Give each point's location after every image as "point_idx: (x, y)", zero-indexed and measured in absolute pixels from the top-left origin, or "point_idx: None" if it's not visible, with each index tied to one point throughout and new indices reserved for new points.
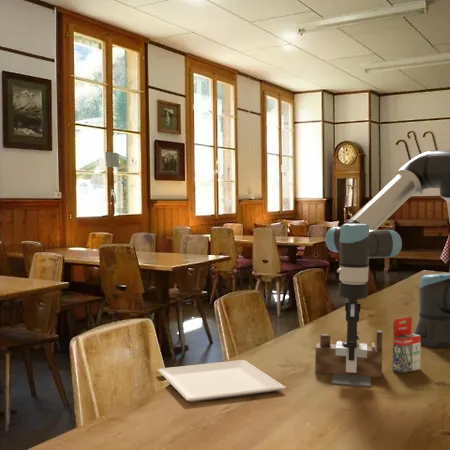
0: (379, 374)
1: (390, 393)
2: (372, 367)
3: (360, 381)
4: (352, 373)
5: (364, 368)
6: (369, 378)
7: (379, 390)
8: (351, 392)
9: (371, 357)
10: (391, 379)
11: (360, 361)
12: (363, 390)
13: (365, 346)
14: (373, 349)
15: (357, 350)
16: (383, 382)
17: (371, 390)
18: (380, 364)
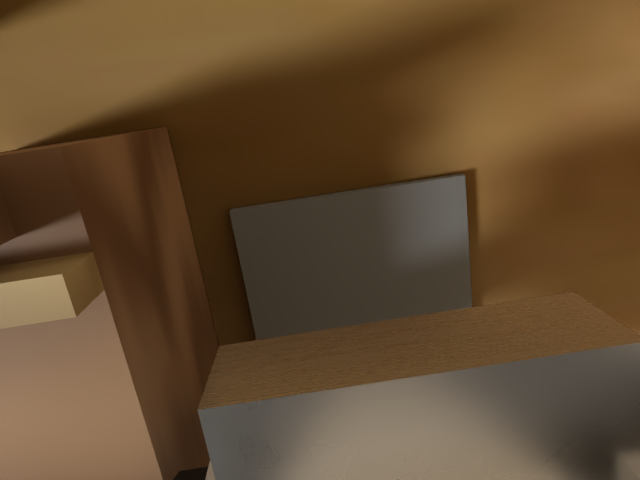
0: (166, 147)
1: (569, 5)
2: (166, 219)
3: (388, 261)
4: (216, 344)
5: (186, 281)
6: (287, 211)
7: (517, 100)
8: (608, 277)
9: (133, 261)
10: (192, 37)
11: (177, 342)
12: (547, 211)
13: (408, 401)
14: (88, 277)
15: (628, 458)
16: (305, 94)
17: (532, 158)
18: (134, 149)
